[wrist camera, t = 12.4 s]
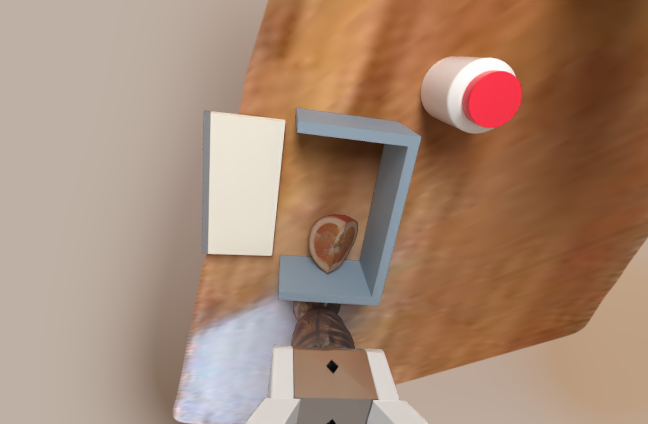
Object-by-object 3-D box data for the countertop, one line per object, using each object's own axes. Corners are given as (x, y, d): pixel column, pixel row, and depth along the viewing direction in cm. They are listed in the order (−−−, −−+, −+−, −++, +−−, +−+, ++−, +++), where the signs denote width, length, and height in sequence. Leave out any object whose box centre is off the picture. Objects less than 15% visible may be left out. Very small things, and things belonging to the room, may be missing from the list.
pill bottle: (484, 107, 47) (537, 123, 37) (427, 129, 48) (465, 150, 38) (474, 46, 44) (529, 45, 34) (413, 70, 44) (450, 76, 34)
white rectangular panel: (284, 119, 45) (204, 110, 43) (285, 121, 44) (203, 111, 42) (271, 252, 53) (202, 249, 51) (271, 255, 52) (201, 253, 50)
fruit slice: (343, 260, 55) (348, 279, 50) (301, 250, 53) (302, 269, 49) (362, 212, 52) (369, 227, 47) (317, 200, 50) (321, 215, 46)
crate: (296, 107, 45) (298, 120, 37) (398, 121, 47) (421, 136, 39) (279, 261, 54) (277, 299, 46) (365, 268, 56) (378, 305, 47)
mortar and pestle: (304, 260, 54) (313, 366, 36) (358, 271, 56) (392, 378, 38) (284, 319, 58) (283, 441, 40) (334, 329, 60) (355, 450, 42)
